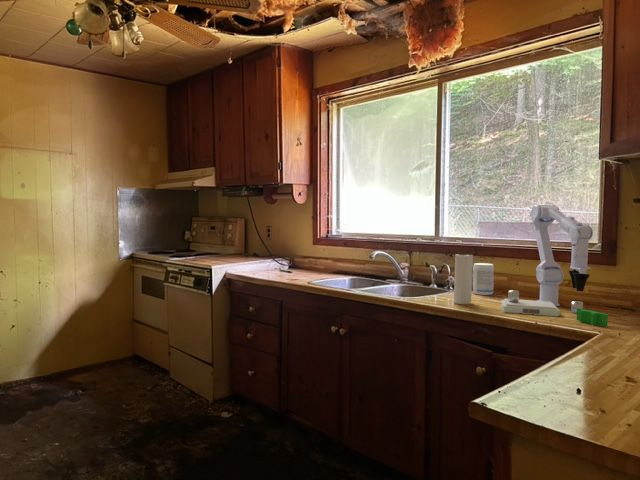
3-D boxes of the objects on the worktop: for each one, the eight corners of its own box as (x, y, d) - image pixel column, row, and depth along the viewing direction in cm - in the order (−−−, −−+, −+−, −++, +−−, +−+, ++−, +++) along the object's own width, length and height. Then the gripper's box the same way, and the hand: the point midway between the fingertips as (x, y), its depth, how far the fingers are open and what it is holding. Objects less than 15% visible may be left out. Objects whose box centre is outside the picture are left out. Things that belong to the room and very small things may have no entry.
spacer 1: (507, 300, 195) (508, 289, 195) (518, 301, 194) (518, 290, 194) (508, 302, 192) (508, 291, 191) (518, 303, 190) (519, 292, 190)
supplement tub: (497, 294, 228) (498, 264, 227) (483, 296, 223) (484, 265, 222) (482, 291, 236) (483, 262, 235) (468, 292, 232) (469, 263, 231)
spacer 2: (570, 311, 191) (570, 300, 191) (581, 312, 190) (581, 301, 190) (572, 313, 187) (572, 302, 187) (583, 314, 186) (583, 303, 186)
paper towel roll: (453, 304, 202) (455, 254, 201) (454, 301, 208) (455, 253, 207) (470, 305, 200) (472, 255, 199) (471, 302, 206) (473, 254, 204)
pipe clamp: (571, 321, 175) (572, 308, 175) (578, 320, 177) (578, 308, 176) (600, 327, 165) (601, 314, 165) (607, 326, 166) (608, 314, 166)
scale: (501, 305, 201) (501, 297, 201) (552, 309, 195) (553, 301, 195) (503, 312, 187) (503, 304, 187) (559, 316, 181) (559, 308, 181)
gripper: (595, 257, 179) (593, 293, 180) (586, 254, 193) (584, 287, 194) (574, 257, 181) (573, 291, 182) (567, 254, 195) (565, 286, 196)
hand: (577, 289), depth 188 cm, fingers open, 7 cm apart
